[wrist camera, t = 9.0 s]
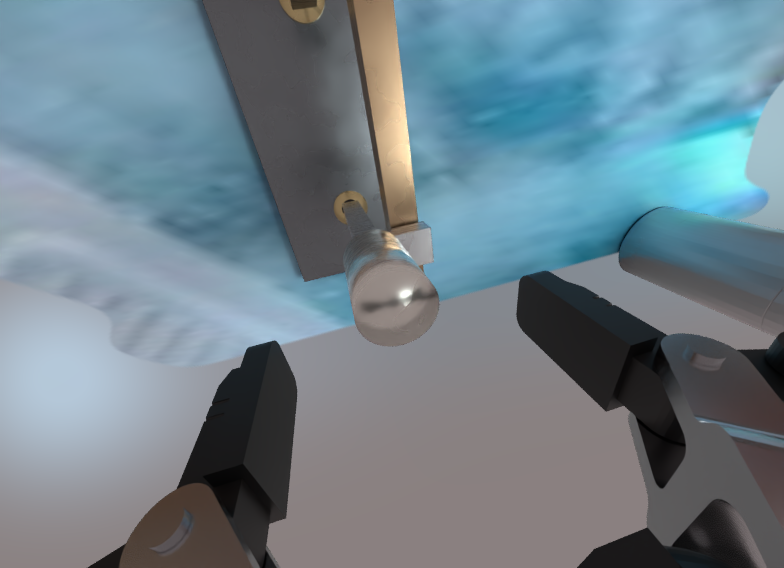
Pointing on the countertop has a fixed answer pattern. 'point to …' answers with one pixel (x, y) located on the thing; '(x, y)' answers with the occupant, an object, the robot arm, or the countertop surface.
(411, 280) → the grey elongated rounded piece
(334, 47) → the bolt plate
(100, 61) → the countertop surface
